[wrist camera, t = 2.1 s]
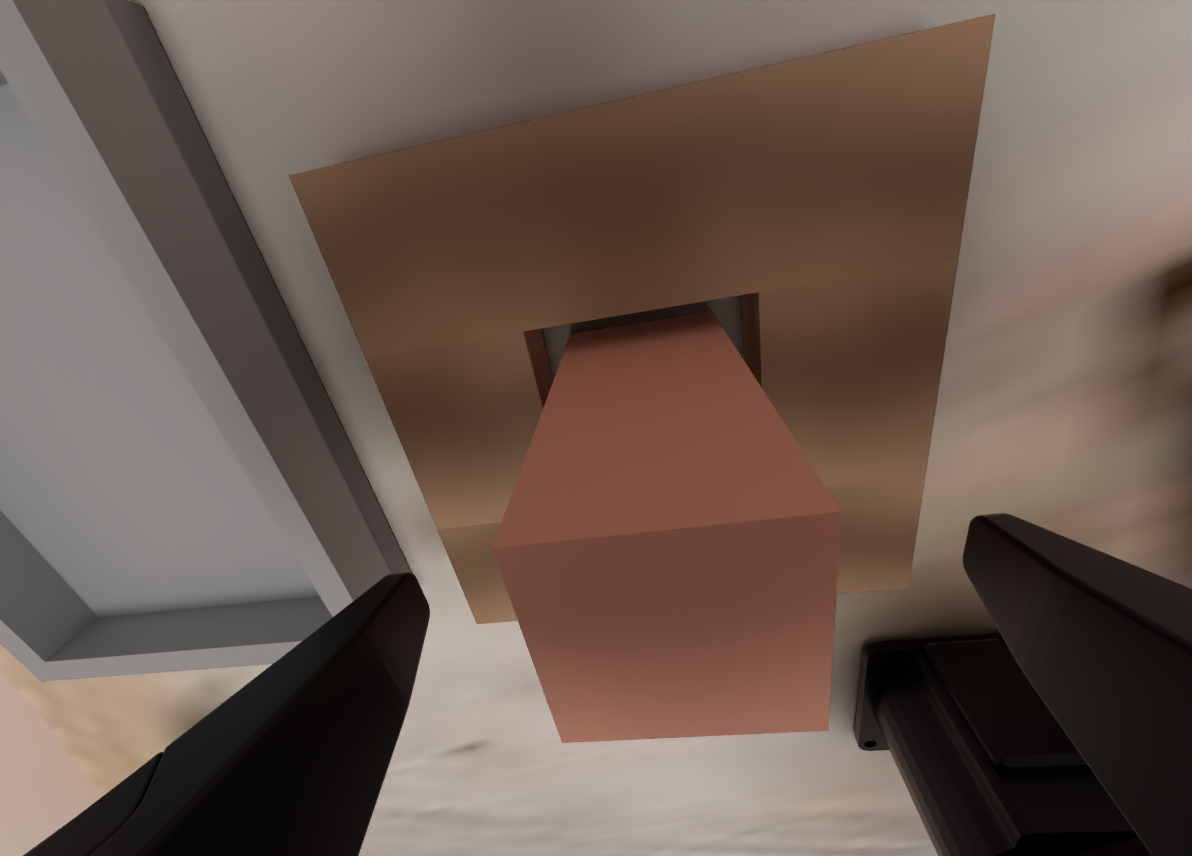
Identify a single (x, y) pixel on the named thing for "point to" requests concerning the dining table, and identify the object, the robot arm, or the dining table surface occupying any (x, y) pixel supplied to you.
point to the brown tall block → (671, 544)
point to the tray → (151, 381)
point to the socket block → (676, 271)
